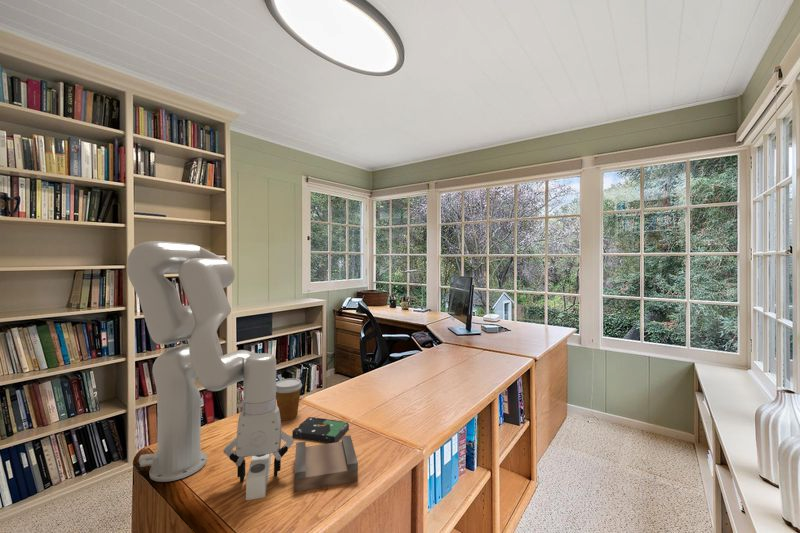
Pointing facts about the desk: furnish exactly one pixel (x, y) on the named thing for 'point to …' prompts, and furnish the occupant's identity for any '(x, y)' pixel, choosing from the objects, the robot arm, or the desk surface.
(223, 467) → the desk surface
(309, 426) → the disk drive
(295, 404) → the disposable coffee cup
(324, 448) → the display stand
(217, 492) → the desk surface
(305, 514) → the desk surface
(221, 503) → the desk surface
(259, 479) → the white rectangular block
